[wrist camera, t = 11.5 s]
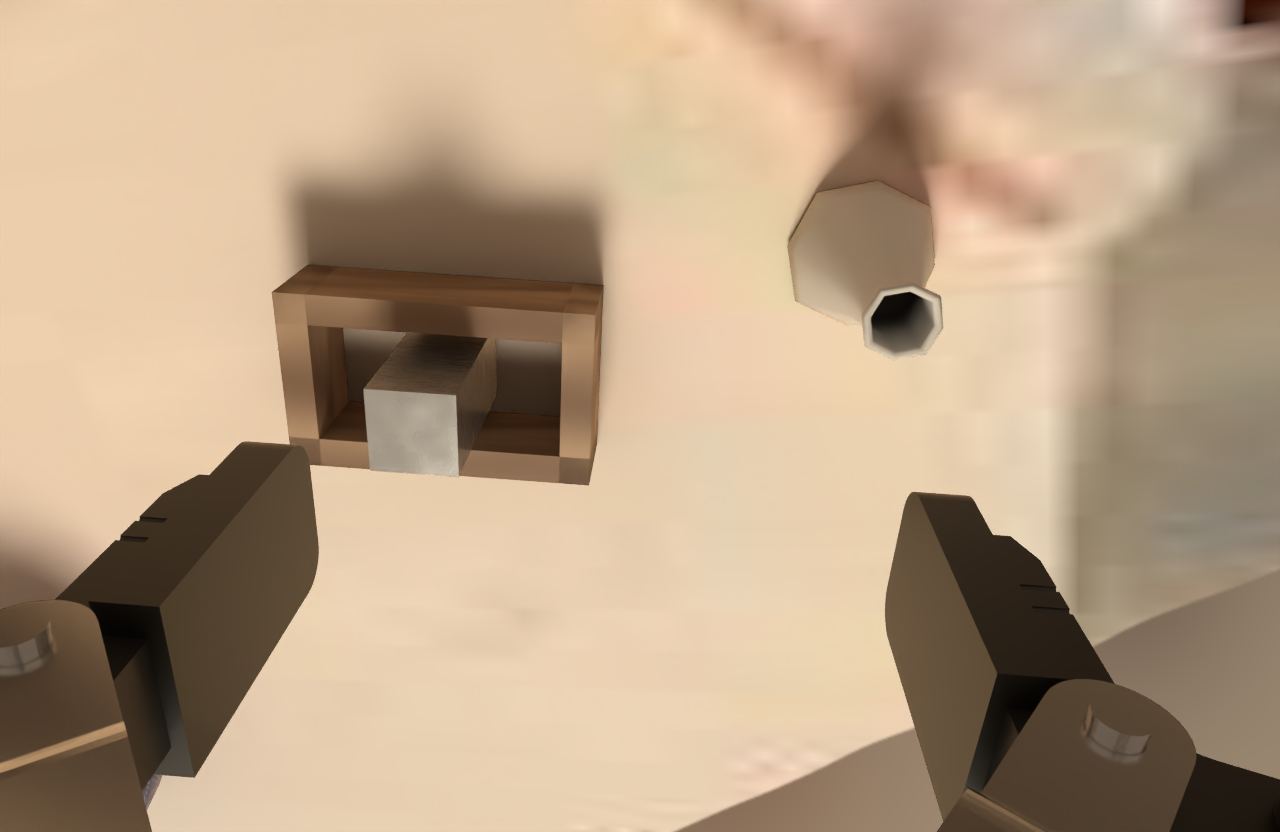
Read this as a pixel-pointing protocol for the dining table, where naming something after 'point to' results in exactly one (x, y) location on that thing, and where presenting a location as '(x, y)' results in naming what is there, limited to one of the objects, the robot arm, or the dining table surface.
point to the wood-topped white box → (429, 403)
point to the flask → (869, 266)
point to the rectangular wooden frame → (445, 307)
